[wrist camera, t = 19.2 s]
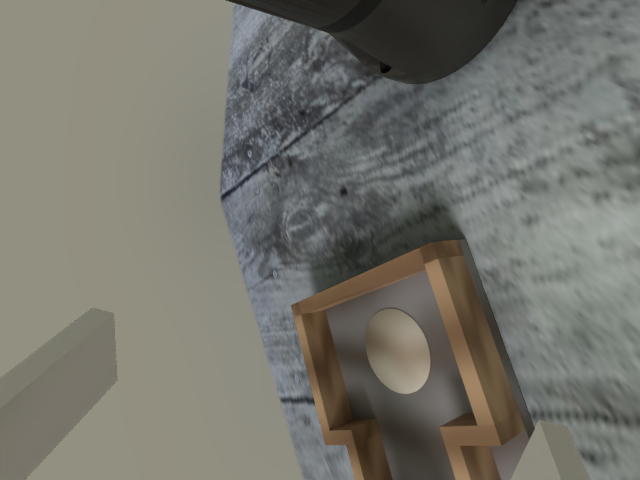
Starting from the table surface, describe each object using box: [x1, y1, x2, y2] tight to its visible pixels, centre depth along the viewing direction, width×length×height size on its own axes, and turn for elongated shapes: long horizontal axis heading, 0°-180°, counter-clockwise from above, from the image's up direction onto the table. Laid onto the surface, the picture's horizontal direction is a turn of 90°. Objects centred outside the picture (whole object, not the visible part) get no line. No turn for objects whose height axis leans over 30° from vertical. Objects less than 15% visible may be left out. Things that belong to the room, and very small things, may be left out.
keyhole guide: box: [291, 239, 534, 480], centre depth 33 cm, size 26×18×4 cm
